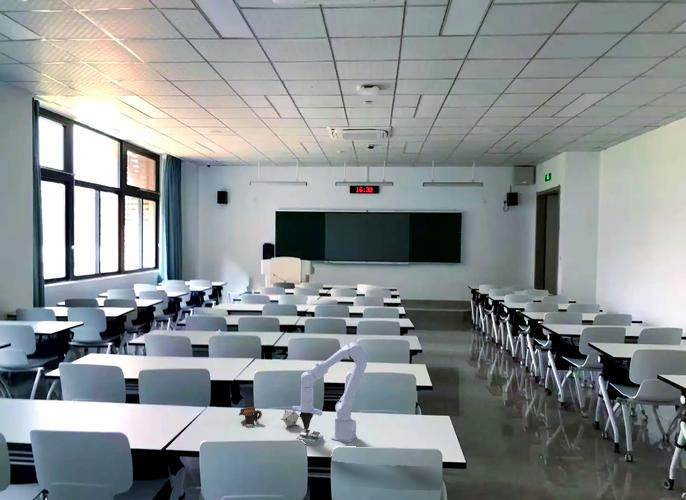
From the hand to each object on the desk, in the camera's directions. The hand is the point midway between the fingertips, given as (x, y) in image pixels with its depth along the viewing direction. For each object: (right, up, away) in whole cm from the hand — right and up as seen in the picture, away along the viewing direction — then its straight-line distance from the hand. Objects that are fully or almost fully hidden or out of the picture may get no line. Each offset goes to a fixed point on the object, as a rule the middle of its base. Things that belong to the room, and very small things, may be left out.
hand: (306, 428), depth 219 cm
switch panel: (+2, -5, -2) cm, 6 cm away
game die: (-9, -4, +14) cm, 17 cm away
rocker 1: (-1, -2, -1) cm, 2 cm away
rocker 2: (+4, -2, -3) cm, 6 cm away
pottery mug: (-29, -4, +18) cm, 35 cm away
